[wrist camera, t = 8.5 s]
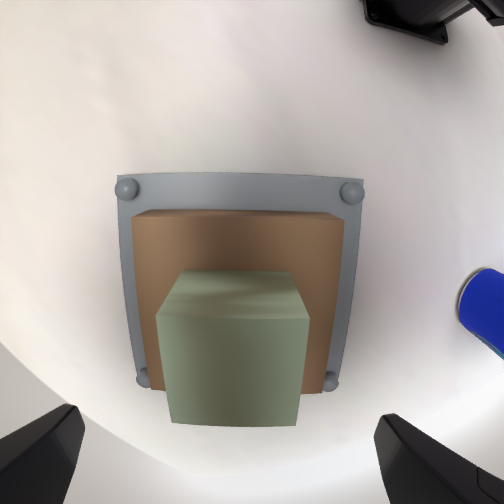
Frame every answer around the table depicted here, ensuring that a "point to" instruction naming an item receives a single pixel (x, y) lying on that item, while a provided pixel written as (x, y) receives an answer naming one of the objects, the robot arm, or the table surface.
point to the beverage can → (484, 308)
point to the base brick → (240, 266)
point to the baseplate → (242, 198)
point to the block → (233, 348)
